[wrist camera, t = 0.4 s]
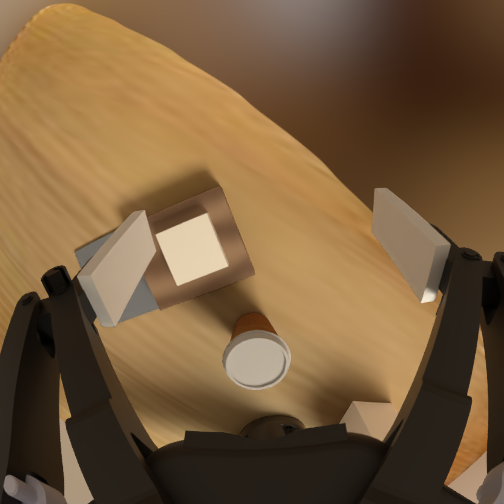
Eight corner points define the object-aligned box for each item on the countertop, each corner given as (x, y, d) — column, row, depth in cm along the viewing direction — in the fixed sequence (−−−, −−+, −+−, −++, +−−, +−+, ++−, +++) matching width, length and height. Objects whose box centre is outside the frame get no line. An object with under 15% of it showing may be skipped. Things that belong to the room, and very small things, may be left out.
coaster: (228, 263, 42) (228, 266, 40) (179, 282, 42) (177, 286, 40) (208, 212, 40) (206, 213, 38) (159, 233, 40) (155, 234, 39)
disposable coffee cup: (291, 328, 48) (306, 363, 36) (252, 361, 49) (256, 402, 37) (253, 292, 47) (258, 320, 35) (213, 329, 48) (207, 365, 36)
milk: (368, 438, 55) (406, 511, 29) (329, 437, 54) (362, 522, 28) (391, 403, 53) (444, 475, 27) (352, 400, 52) (401, 487, 26)
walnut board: (253, 268, 46) (255, 274, 42) (166, 302, 46) (160, 310, 42) (221, 187, 44) (220, 185, 40) (133, 225, 44) (124, 227, 40)
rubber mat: (162, 306, 46) (161, 307, 46) (109, 325, 47) (108, 326, 46) (127, 225, 44) (126, 225, 44) (75, 251, 44) (74, 252, 44)
